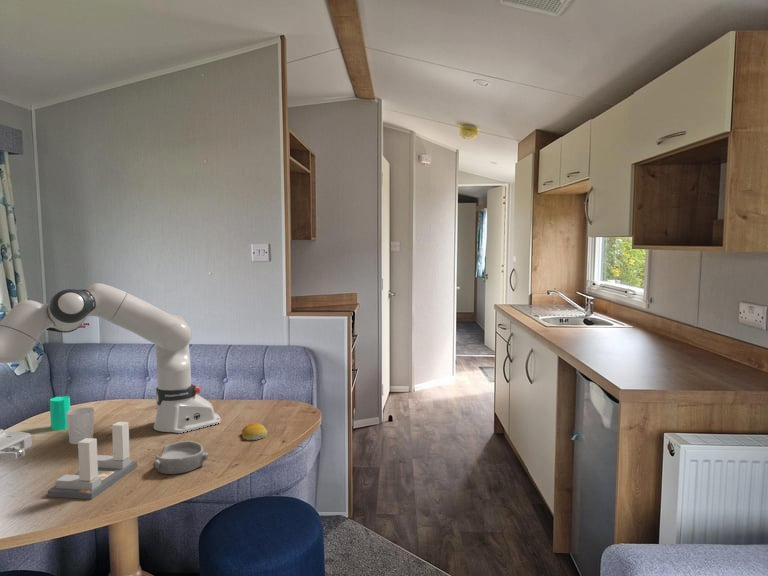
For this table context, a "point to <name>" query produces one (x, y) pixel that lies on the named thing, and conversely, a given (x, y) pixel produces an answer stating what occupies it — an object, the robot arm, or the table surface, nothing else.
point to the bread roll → (254, 431)
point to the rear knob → (120, 440)
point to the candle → (59, 412)
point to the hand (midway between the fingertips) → (20, 454)
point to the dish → (180, 457)
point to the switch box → (89, 489)
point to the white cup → (80, 424)
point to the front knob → (88, 459)
